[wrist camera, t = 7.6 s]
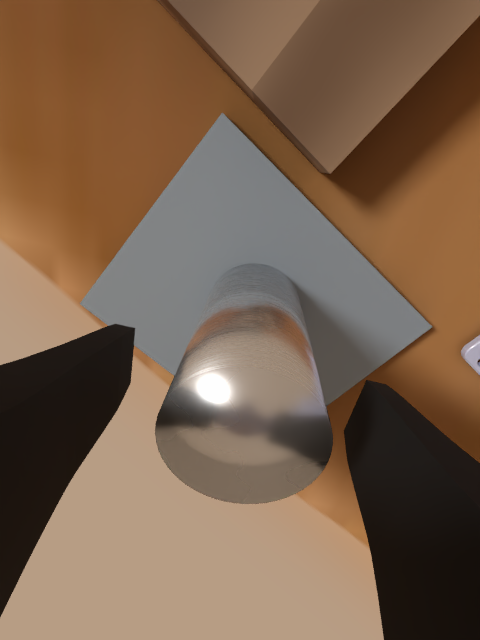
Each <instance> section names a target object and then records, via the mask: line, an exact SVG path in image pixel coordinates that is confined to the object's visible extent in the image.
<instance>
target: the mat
mask: <svg viewBox="0 0 480 640" xmlns="http://www.w3.org/2000/svg"><path fill="white" fill-rule="evenodd" d="M249 263H259V264H265V265H268V266H271V267H274V268H276V269H278V270H279V271H281V272H282V273H284V274H285V275H286V276H287V277H288V278H289V279H290V280H291V281H292V283H293V284H294V286H295V288H296V290H297V292H298V295H299V299H300V303H301V307H302V311H303V315H304V319H305V323H306V327H307V331H308V335H309V339H310V343H311V347H312V351H313V355H314V359H315V363H316V367H317V371H318V375H319V379H320V383H321V387H322V392H323V396H324V400H325V404H326V406H328V405H329V404H330V403H332V402H333V401H334V400H336V399H337V398H338V397H340V396H341V395H342V394H344V393H345V392H346V391H348V390H349V389H350V388H352V387H353V386H354V385H356V384H357V383H358V382H360V381H361V380H362V379H364V378H365V377H366V376H368V375H369V374H370V373H372V372H373V371H374V370H376V369H377V368H378V367H380V366H381V365H382V364H384V363H385V362H386V361H388V360H389V359H390V358H392V357H393V356H394V355H396V354H397V353H398V352H400V351H401V350H402V349H404V348H405V347H406V346H408V345H409V344H410V343H412V342H413V341H414V340H416V339H417V338H418V337H420V336H421V335H422V334H424V333H425V332H426V331H428V330H429V329H430V328H432V326H431V325H430V324H429V323H428V322H427V321H426V320H425V319H424V318H423V317H422V316H421V315H420V314H419V313H418V312H417V311H416V310H415V309H414V308H413V307H412V306H411V305H410V304H409V303H408V301H407V300H406V299H405V298H404V297H403V296H402V295H401V294H400V293H399V292H398V291H397V290H396V289H395V288H394V287H393V286H392V285H391V284H390V283H389V282H388V281H387V280H386V279H385V278H384V277H383V276H382V275H381V274H380V273H379V272H378V271H377V270H376V269H375V268H374V267H373V266H372V265H371V264H370V263H369V262H368V261H367V260H366V259H365V258H364V257H363V256H362V255H361V254H360V253H359V251H358V250H357V249H356V248H355V247H354V246H353V245H352V244H351V243H350V242H349V241H348V240H347V239H346V238H345V237H344V236H343V235H342V234H341V233H340V232H339V231H338V230H337V229H336V228H335V227H334V226H333V225H332V224H331V223H330V222H329V221H328V220H327V219H326V218H325V217H324V216H323V215H322V214H321V213H320V212H319V211H318V210H317V209H316V208H315V207H314V206H313V205H312V204H311V203H310V201H309V200H308V199H307V198H306V197H305V196H304V195H303V194H302V193H301V192H300V191H299V190H298V189H297V188H296V187H295V186H294V185H293V184H292V183H291V182H290V181H289V180H288V179H287V178H286V177H285V176H284V175H283V174H282V173H281V172H280V171H279V170H278V169H277V168H276V167H275V166H274V165H273V164H272V163H271V162H270V161H269V160H268V159H267V158H266V157H265V156H264V155H263V154H262V153H261V151H260V150H259V149H258V148H257V147H256V146H255V145H254V144H253V143H252V142H251V141H250V140H249V139H248V138H247V137H246V136H245V135H244V134H243V133H242V132H241V131H240V130H239V129H238V128H237V127H236V126H235V125H234V124H233V123H232V122H231V121H230V120H229V119H228V118H227V117H226V116H225V115H224V114H223V113H222V114H221V115H220V116H219V118H218V119H217V120H216V122H215V123H214V124H213V126H212V127H211V128H210V130H209V131H208V132H207V134H206V135H205V136H204V138H203V139H202V140H201V142H200V143H199V144H198V146H197V147H196V149H195V150H194V151H193V153H192V154H191V155H190V157H189V158H188V159H187V161H186V162H185V163H184V165H183V166H182V167H181V169H180V170H179V171H178V173H177V174H176V175H175V177H174V178H173V179H172V181H171V182H170V183H169V185H168V186H167V187H166V189H165V190H164V191H163V193H162V194H161V195H160V197H159V198H158V199H157V201H156V202H155V203H154V205H153V206H152V208H151V209H150V210H149V212H148V213H147V214H146V216H145V217H144V218H143V220H142V221H141V222H140V224H139V225H138V226H137V228H136V229H135V230H134V232H133V233H132V234H131V236H130V237H129V238H128V240H127V241H126V242H125V244H124V245H123V246H122V248H121V249H120V250H119V252H118V253H117V254H116V256H115V257H114V258H113V260H112V261H111V262H110V264H109V265H108V267H107V268H106V269H105V271H104V272H103V273H102V275H101V276H100V277H99V279H98V280H97V281H96V283H95V284H94V285H93V287H92V288H91V289H90V291H89V292H88V293H87V295H86V296H85V297H84V299H83V300H82V301H81V303H80V304H81V305H82V306H83V307H85V308H86V309H87V310H89V311H90V312H91V313H92V314H94V315H95V316H96V317H98V318H99V319H100V320H102V321H103V322H104V323H106V324H107V325H108V326H110V325H113V324H119V325H124V326H128V327H133V328H135V337H134V345H135V346H136V347H137V348H139V349H140V350H141V351H142V352H144V353H145V354H146V355H148V356H149V357H150V358H152V359H153V360H154V361H156V362H157V363H158V364H160V365H161V366H162V367H164V368H165V369H166V370H167V371H169V372H170V373H171V374H173V375H174V376H175V374H176V372H177V369H178V367H179V365H180V362H181V360H182V358H183V355H184V353H185V351H186V348H187V346H188V344H189V341H190V339H191V337H192V334H193V332H194V330H195V327H196V325H197V323H198V320H199V318H200V316H201V313H202V311H203V309H204V306H205V304H206V302H207V299H208V297H209V295H210V292H211V290H212V288H213V286H214V284H215V283H216V281H217V280H218V279H219V278H220V277H221V276H222V275H223V274H224V273H225V272H227V271H228V270H230V269H232V268H234V267H236V266H239V265H243V264H249Z"/></svg>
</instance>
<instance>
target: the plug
mask: <svg viewBox="0 0 480 640" xmlns="http://www.w3.org/2000/svg"><path fill="white" fill-rule="evenodd" d="M155 435H156V443H157V446H158V450H159V452H160V454H161V457H162V459H163V460H164V462H165V463H166V465H167V467H168V468H169V469H170V470H171V471H172V473H173V474H174V475H175V476H177V478H179V479H180V480H181V481H182V482H183V483H185V484H186V485H187V486H189V487H191V488H192V489H194V490H196V491H198V492H200V493H202V494H204V495H206V496H209V497H212V498H215V499H218V500H222V501H226V502H232V503H240V504H259V503H267V502H272V501H277V500H280V499H283V498H287V497H289V496H291V495H294V494H296V493H298V492H299V491H301V490H303V489H304V488H306V487H307V486H308V485H310V484H311V483H312V482H313V481H314V480H315V479H316V478H317V477H318V476H319V475H320V474H321V472H322V471H323V470H324V468H325V466H326V465H327V463H328V461H329V458H330V455H331V451H332V445H333V434H332V428H331V424H330V420H329V416H328V412H327V408H326V404H325V400H324V396H323V392H322V387H321V383H320V379H319V375H318V371H317V367H316V363H315V359H314V355H313V351H312V347H311V343H310V339H309V335H308V331H307V327H306V323H305V319H304V315H303V311H302V307H301V303H300V299H299V295H298V292H297V290H296V288H295V286H294V284H293V283H292V281H291V280H290V279H289V278H288V277H287V276H286V275H285V274H284V273H282V272H281V271H279V270H278V269H276V268H274V267H271V266H268V265H265V264H259V263H249V264H243V265H239V266H236V267H234V268H232V269H230V270H228V271H227V272H225V273H224V274H223V275H222V276H221V277H220V278H219V279H218V280H217V281H216V283H215V284H214V286H213V288H212V290H211V292H210V295H209V297H208V299H207V302H206V304H205V306H204V309H203V311H202V313H201V316H200V318H199V320H198V323H197V325H196V327H195V330H194V332H193V334H192V337H191V339H190V341H189V344H188V346H187V348H186V351H185V353H184V355H183V358H182V360H181V362H180V365H179V367H178V369H177V372H176V374H175V376H174V379H173V381H172V383H171V385H170V388H169V390H168V392H167V395H166V397H165V400H164V402H163V404H162V406H161V409H160V411H159V413H158V416H157V421H156V428H155Z"/></svg>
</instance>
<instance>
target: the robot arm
mask: <svg viewBox="0 0 480 640" xmlns="http://www.w3.org/2000/svg"><path fill="white" fill-rule="evenodd" d="M134 337H135V328H133V327H128V326H124V325H119V324H113V325H110V326H107V327H104V328H102V329H100V330H97V331H94V332H92V333H89V334H87V335H85V336H82V337H80V338H77V339H75V340H72V341H70V342H67V343H65V344H62V345H60V346H57V347H54V348H51V349H48V350H45V351H43V352H40V353H37V354H34V355H31V356H29V357H26V358H23V359H19V360H16V361H13V362H10V363H6V364H3V365H0V617H1V614H2V613H3V611H4V608H5V606H6V604H7V602H8V600H9V598H10V596H11V594H12V592H13V590H14V588H15V586H16V584H17V582H18V580H19V578H20V576H21V574H22V572H23V569H24V568H25V566H26V564H27V562H28V560H29V558H30V556H31V554H32V552H33V550H34V548H35V546H36V544H37V542H38V540H39V538H40V536H41V534H42V532H43V531H44V529H45V527H46V525H47V523H48V521H49V519H50V517H51V515H52V513H53V512H54V510H55V508H56V506H57V504H58V502H59V500H60V499H61V497H62V495H63V493H64V491H65V489H66V487H67V486H68V484H69V483H70V481H71V479H72V478H73V476H74V474H75V473H76V471H77V470H78V468H79V467H80V465H81V464H82V462H83V461H84V459H85V458H86V456H87V454H88V453H89V452H90V450H91V449H92V447H93V446H94V444H95V443H96V441H97V440H98V438H99V437H100V436H101V434H102V432H103V431H104V430H105V428H106V426H107V425H108V423H109V422H110V420H111V419H112V417H113V416H114V414H115V413H116V411H117V409H118V408H119V405H120V404H121V401H122V400H123V398H124V395H125V393H126V391H127V389H128V387H129V385H130V382H131V371H132V360H133V349H134ZM461 356H462V357H463V359H464V360H465V361H466V362H467V363H468V364H469V365H470V366H471V367H472V368H473V369H474V370H475V371H476V372H477V373H478V374H479V375H480V362H478V360H479V359H480V335H479V336H478V337H476V338H475V339H473V340H472V341H470V342H469V343H468V344H466V345H465V346H464V347H463V348H462V351H461ZM344 435H345V445H346V453H347V461H348V465H349V469H350V473H351V477H352V481H353V485H354V489H355V492H356V496H357V500H358V503H359V507H360V511H361V515H362V518H363V522H364V526H365V530H366V533H367V537H368V542H369V546H370V551H371V555H372V562H373V568H374V574H375V580H376V586H377V592H378V599H379V606H380V613H381V620H382V628H383V635H384V640H480V463H478V462H477V461H476V460H475V459H473V458H472V457H471V456H470V455H469V454H467V453H466V452H465V451H464V450H462V449H461V448H460V447H459V446H457V445H456V444H455V443H454V442H453V441H452V440H450V439H449V438H448V437H447V436H446V435H444V434H443V433H442V432H441V431H440V430H439V429H438V428H436V427H435V426H434V425H433V424H432V423H431V422H430V421H428V420H427V419H426V418H425V417H424V416H423V415H422V414H421V413H420V412H418V411H417V410H416V409H415V408H414V407H413V406H412V405H411V404H409V403H408V402H407V401H406V400H405V399H404V398H403V397H401V396H400V395H399V394H398V393H397V392H395V391H394V390H393V389H392V388H390V387H389V386H387V385H386V384H381V383H377V382H373V381H368V380H366V383H365V385H364V387H363V389H362V391H361V394H360V396H359V398H358V400H357V403H356V405H355V407H354V409H353V412H352V414H351V416H350V418H349V421H348V423H347V425H346V427H345V430H344Z"/></svg>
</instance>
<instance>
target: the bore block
mask: <svg viewBox="0 0 480 640" xmlns="http://www.w3.org/2000/svg"><path fill="white" fill-rule="evenodd" d="M158 1H159V3H160V4H161V5H162V6H163V7H164V8H165V9H166V10H167V11H168V12H169V13H170V14H171V15H172V16H173V17H174V18H175V19H176V21H177V22H178V23H179V24H180V25H181V26H182V27H183V28H184V29H185V30H186V31H187V32H188V33H189V34H190V35H191V36H192V37H193V39H194V40H195V41H196V42H197V43H198V44H199V45H200V46H201V47H202V48H203V49H204V50H205V51H206V52H207V53H208V54H209V55H210V57H211V58H212V59H213V60H214V61H215V62H216V63H217V64H218V65H219V66H220V67H221V68H222V69H223V70H224V71H225V72H226V73H227V75H228V76H229V77H230V78H231V79H232V80H233V81H234V82H235V83H236V84H237V85H238V86H239V87H240V88H241V89H242V90H243V91H244V92H245V94H246V95H247V96H248V97H249V98H250V99H251V100H252V101H253V102H254V103H255V104H256V105H257V106H258V107H259V108H260V109H261V110H262V112H263V113H264V114H265V115H266V116H267V117H268V118H269V119H270V120H271V121H272V122H273V123H274V124H275V125H276V126H277V127H278V128H279V130H280V131H281V132H282V133H283V134H284V135H285V136H286V137H287V138H288V139H289V140H290V141H291V142H292V143H293V144H294V145H295V146H296V148H297V149H298V150H299V151H300V152H301V153H302V154H303V155H304V156H305V157H306V158H307V159H308V160H309V161H310V162H311V163H312V164H313V166H314V167H315V168H316V169H317V170H318V171H319V172H322V173H328V174H331V173H332V172H333V171H334V169H335V168H336V167H337V166H338V165H339V164H340V163H341V162H342V161H343V160H344V159H345V158H346V157H347V156H348V155H349V154H350V153H351V151H352V150H353V149H354V148H355V147H356V146H357V145H358V144H359V143H360V142H361V141H362V140H363V139H364V138H365V137H366V136H367V134H368V133H369V132H370V131H371V130H372V129H373V128H374V127H375V126H376V125H377V124H378V123H379V122H380V121H381V120H382V119H383V118H384V116H385V115H386V114H387V113H388V112H389V111H390V110H391V109H392V108H393V107H394V106H395V105H396V104H397V103H398V102H399V101H400V99H401V98H402V97H403V96H404V95H405V94H406V93H407V92H408V91H409V90H410V89H411V88H412V87H413V86H414V85H415V84H416V83H417V81H418V80H419V79H420V78H421V77H422V76H423V75H424V74H425V73H426V72H427V71H428V70H429V69H430V68H431V67H432V66H433V64H434V63H435V62H436V61H437V60H438V59H439V58H440V57H441V56H442V55H443V54H444V53H445V52H446V51H447V50H448V49H449V48H450V46H451V45H452V44H453V43H454V42H455V41H456V40H457V39H458V38H459V37H460V36H461V35H462V34H463V33H464V32H465V31H466V29H467V28H468V27H469V26H470V25H471V24H472V23H473V22H474V21H475V20H476V19H477V18H478V17H479V16H480V0H158Z"/></svg>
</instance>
